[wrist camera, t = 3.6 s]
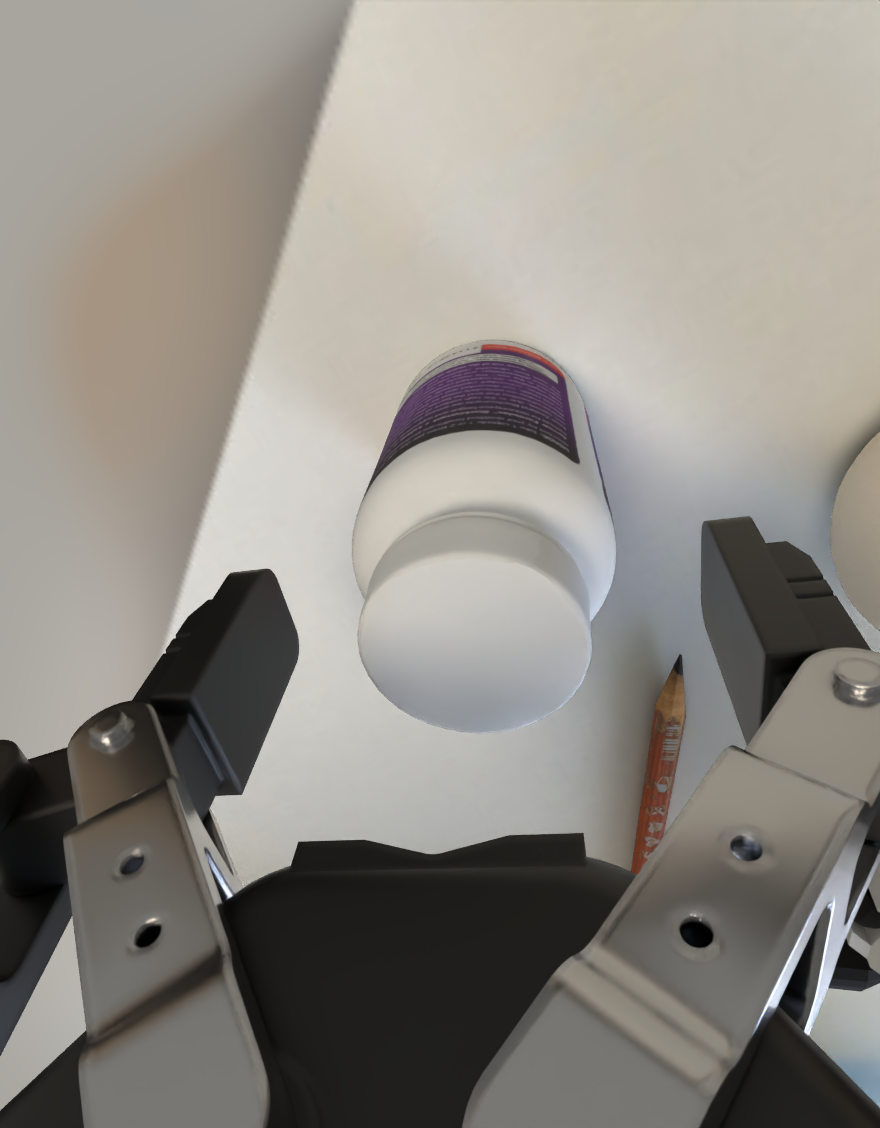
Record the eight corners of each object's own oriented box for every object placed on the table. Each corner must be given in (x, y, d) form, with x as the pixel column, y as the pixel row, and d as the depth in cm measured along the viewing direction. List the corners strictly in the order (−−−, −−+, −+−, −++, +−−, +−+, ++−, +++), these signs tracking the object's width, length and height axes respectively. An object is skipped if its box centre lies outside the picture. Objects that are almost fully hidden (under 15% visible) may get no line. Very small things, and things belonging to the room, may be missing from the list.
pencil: (638, 952, 33) (641, 972, 32) (616, 950, 33) (618, 971, 32) (693, 645, 23) (700, 665, 22) (660, 644, 23) (665, 664, 22)
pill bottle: (360, 415, 20) (249, 622, 12) (510, 292, 18) (503, 441, 9) (476, 545, 22) (451, 799, 14) (624, 448, 20) (700, 683, 11)
